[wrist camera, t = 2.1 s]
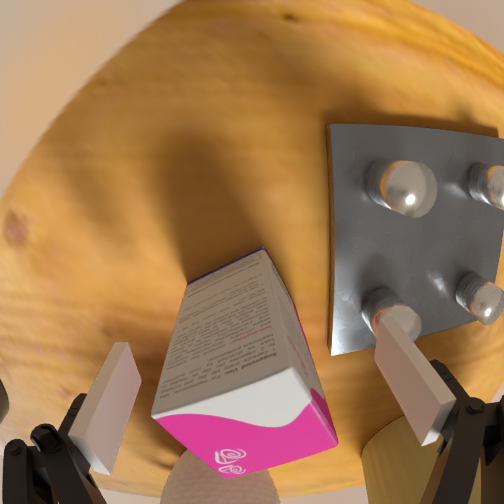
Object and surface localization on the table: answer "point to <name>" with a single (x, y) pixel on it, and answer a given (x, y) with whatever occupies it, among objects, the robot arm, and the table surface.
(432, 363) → the robot arm
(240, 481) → the mug
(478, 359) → the table surface
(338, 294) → the chassis
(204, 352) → the supplement box
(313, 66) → the table surface
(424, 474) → the potted cactus
